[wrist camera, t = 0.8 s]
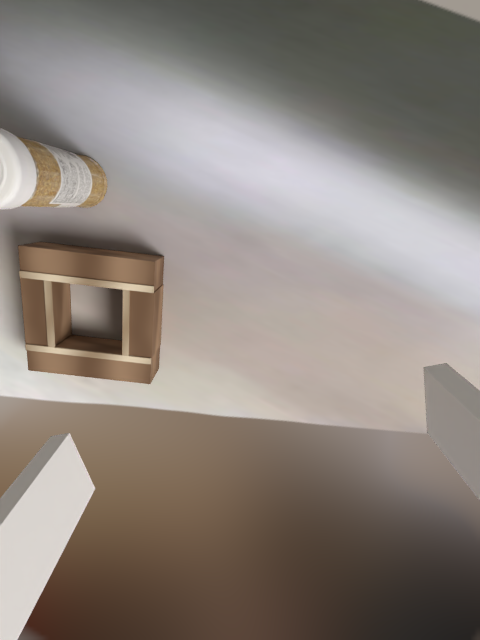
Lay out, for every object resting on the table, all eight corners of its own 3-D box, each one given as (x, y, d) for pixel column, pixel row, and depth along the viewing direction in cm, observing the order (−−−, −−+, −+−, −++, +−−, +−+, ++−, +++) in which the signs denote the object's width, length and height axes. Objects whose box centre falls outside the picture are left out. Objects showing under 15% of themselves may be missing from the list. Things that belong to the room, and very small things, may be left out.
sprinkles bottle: (52, 190, 32) (-76, 180, 20) (72, 144, 31) (-51, 101, 18) (96, 217, 33) (1, 225, 20) (118, 173, 32) (30, 151, 19)
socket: (47, 355, 38) (26, 370, 34) (40, 241, 34) (16, 245, 30) (159, 368, 38) (150, 384, 34) (164, 256, 34) (155, 262, 30)
